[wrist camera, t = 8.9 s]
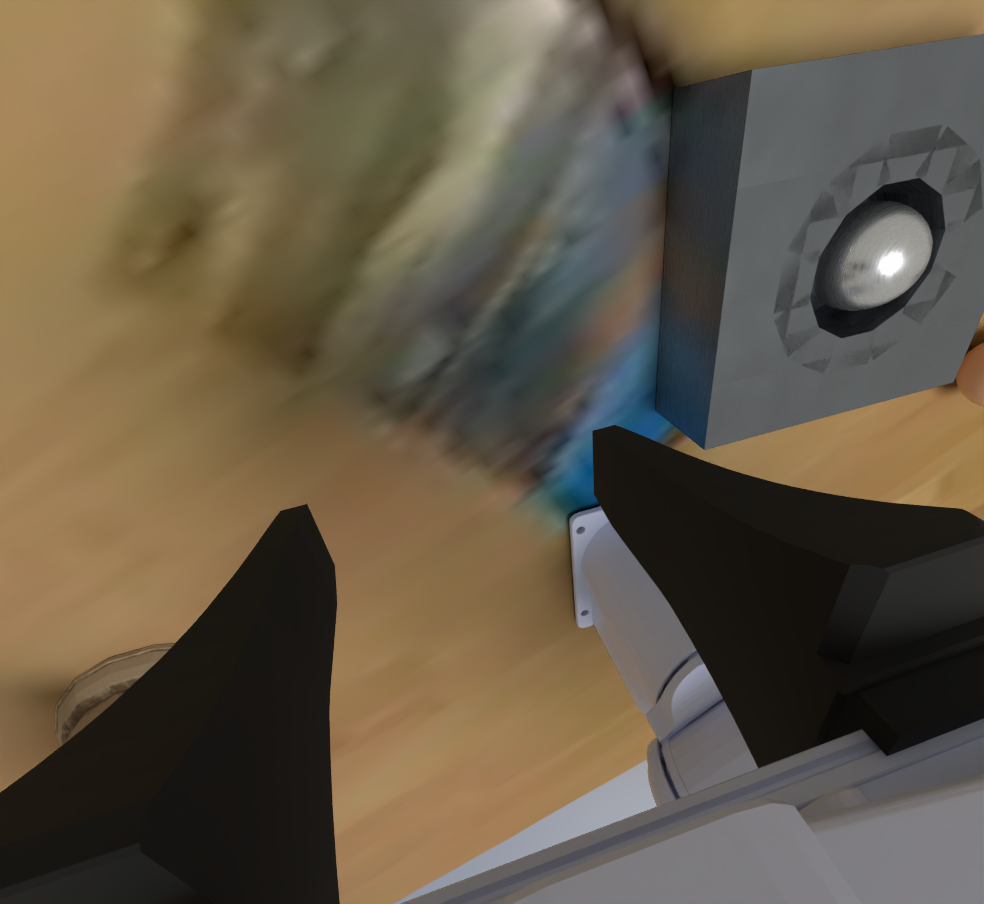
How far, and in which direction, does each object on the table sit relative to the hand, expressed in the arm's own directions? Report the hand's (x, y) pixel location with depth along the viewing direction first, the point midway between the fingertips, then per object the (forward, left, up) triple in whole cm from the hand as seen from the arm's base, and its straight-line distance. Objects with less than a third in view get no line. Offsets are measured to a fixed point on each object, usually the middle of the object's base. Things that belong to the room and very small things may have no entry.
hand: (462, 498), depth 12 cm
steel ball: (+2, -18, -6) cm, 19 cm away
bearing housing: (+2, -18, -9) cm, 20 cm away
